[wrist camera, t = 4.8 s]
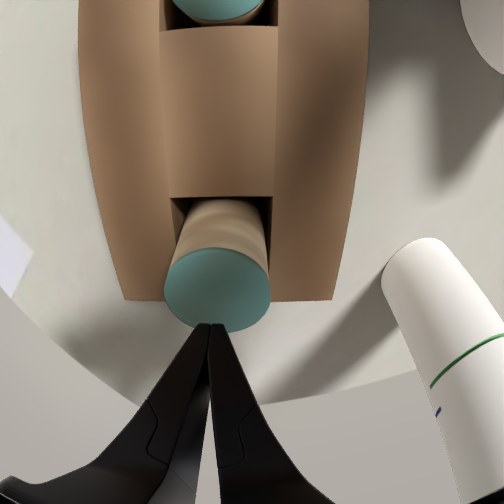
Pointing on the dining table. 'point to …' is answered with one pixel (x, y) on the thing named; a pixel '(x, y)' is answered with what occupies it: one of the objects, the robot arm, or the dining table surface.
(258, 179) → the socket block
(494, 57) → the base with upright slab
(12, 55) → the dining table surface
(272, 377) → the dining table surface
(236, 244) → the peg
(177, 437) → the robot arm
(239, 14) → the peg
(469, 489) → the cylindrical container
